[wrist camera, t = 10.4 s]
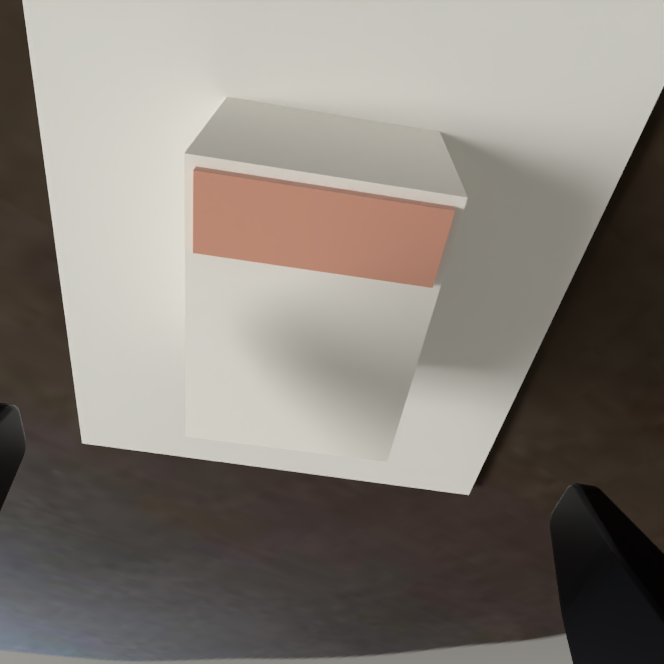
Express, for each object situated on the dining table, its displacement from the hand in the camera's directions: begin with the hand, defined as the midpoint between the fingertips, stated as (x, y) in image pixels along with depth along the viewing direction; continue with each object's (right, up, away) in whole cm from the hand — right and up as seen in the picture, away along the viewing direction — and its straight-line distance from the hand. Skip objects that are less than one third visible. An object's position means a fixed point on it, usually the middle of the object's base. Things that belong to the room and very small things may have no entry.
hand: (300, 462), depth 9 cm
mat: (0, +5, +6) cm, 8 cm away
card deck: (0, +4, +6) cm, 7 cm away
